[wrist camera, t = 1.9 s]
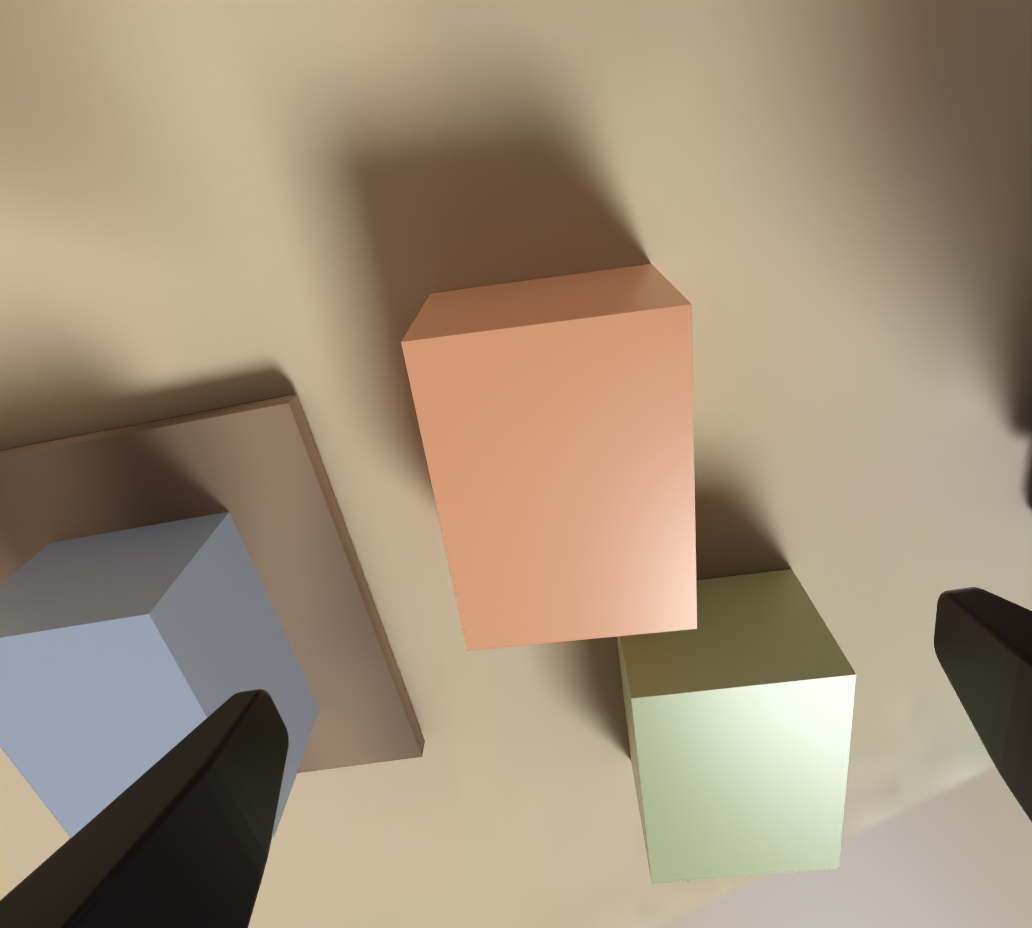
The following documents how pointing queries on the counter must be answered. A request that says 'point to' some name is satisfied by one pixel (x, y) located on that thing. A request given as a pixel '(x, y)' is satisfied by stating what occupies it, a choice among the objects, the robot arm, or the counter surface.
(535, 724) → the counter surface
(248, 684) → the base brick
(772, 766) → the olive brick
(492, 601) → the terracotta brick
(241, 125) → the counter surface
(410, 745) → the walnut board
